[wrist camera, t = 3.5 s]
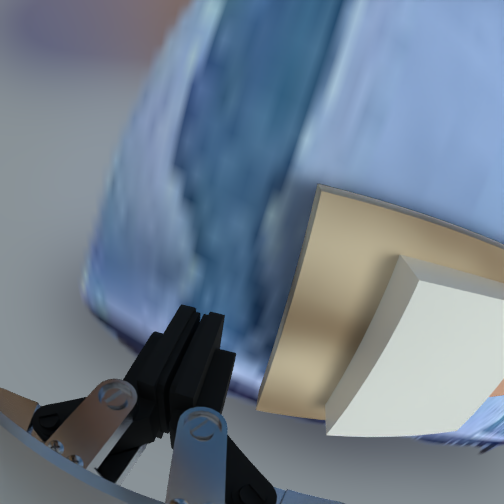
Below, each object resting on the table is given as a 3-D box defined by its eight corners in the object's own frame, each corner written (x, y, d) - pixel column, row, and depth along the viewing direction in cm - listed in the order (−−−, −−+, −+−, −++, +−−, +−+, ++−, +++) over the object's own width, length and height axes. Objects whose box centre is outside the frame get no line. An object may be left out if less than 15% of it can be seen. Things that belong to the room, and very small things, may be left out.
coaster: (399, 254, 10) (419, 280, 8) (527, 290, 9) (547, 310, 7) (325, 404, 13) (326, 435, 11) (448, 407, 13) (456, 430, 11)
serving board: (312, 174, 13) (321, 191, 9) (527, 249, 12) (561, 276, 8) (263, 361, 18) (255, 410, 14) (453, 381, 17) (467, 417, 13)
